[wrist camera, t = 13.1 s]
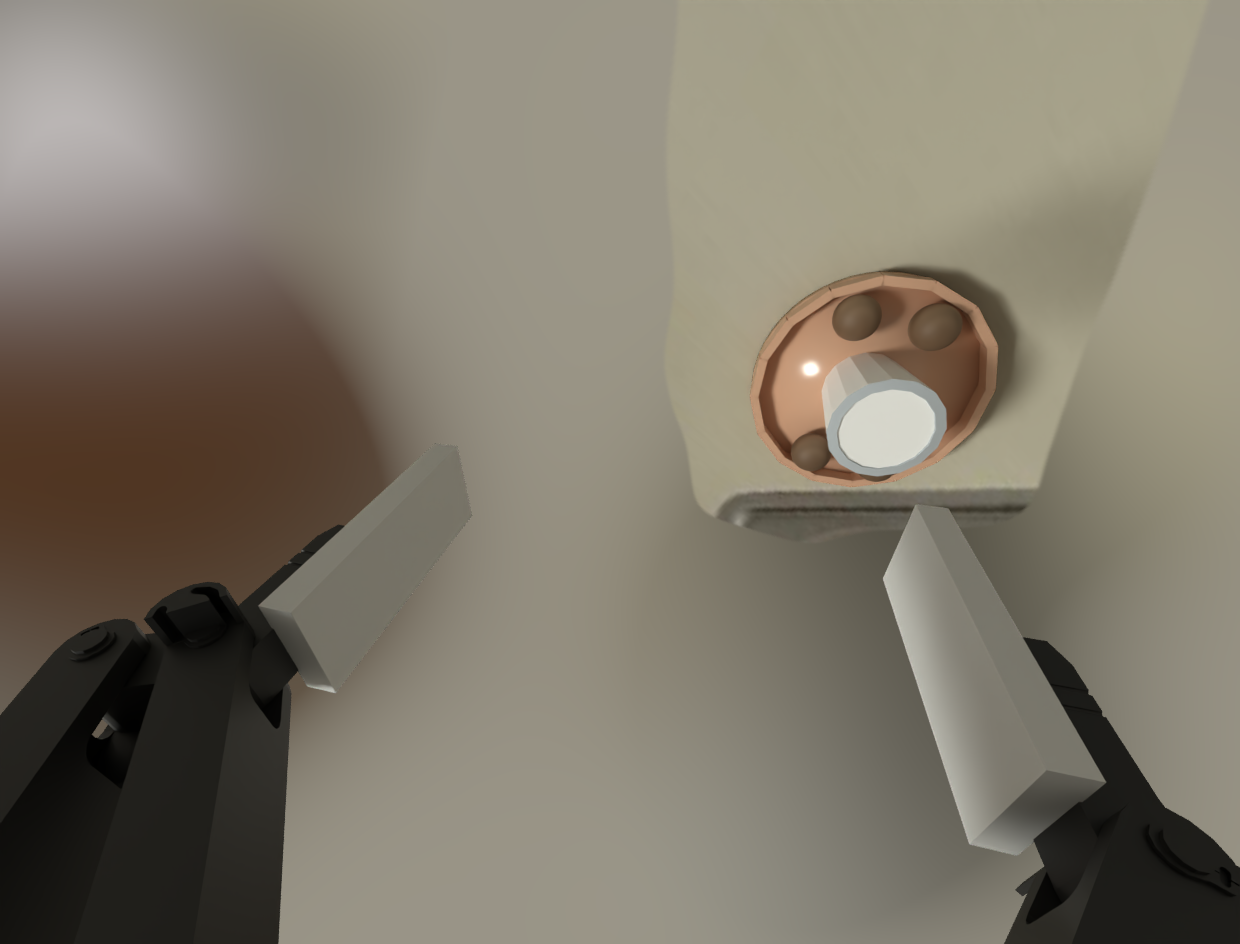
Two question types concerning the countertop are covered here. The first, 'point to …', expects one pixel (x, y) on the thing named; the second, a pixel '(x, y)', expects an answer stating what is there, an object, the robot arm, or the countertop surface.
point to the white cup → (880, 416)
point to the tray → (813, 349)
